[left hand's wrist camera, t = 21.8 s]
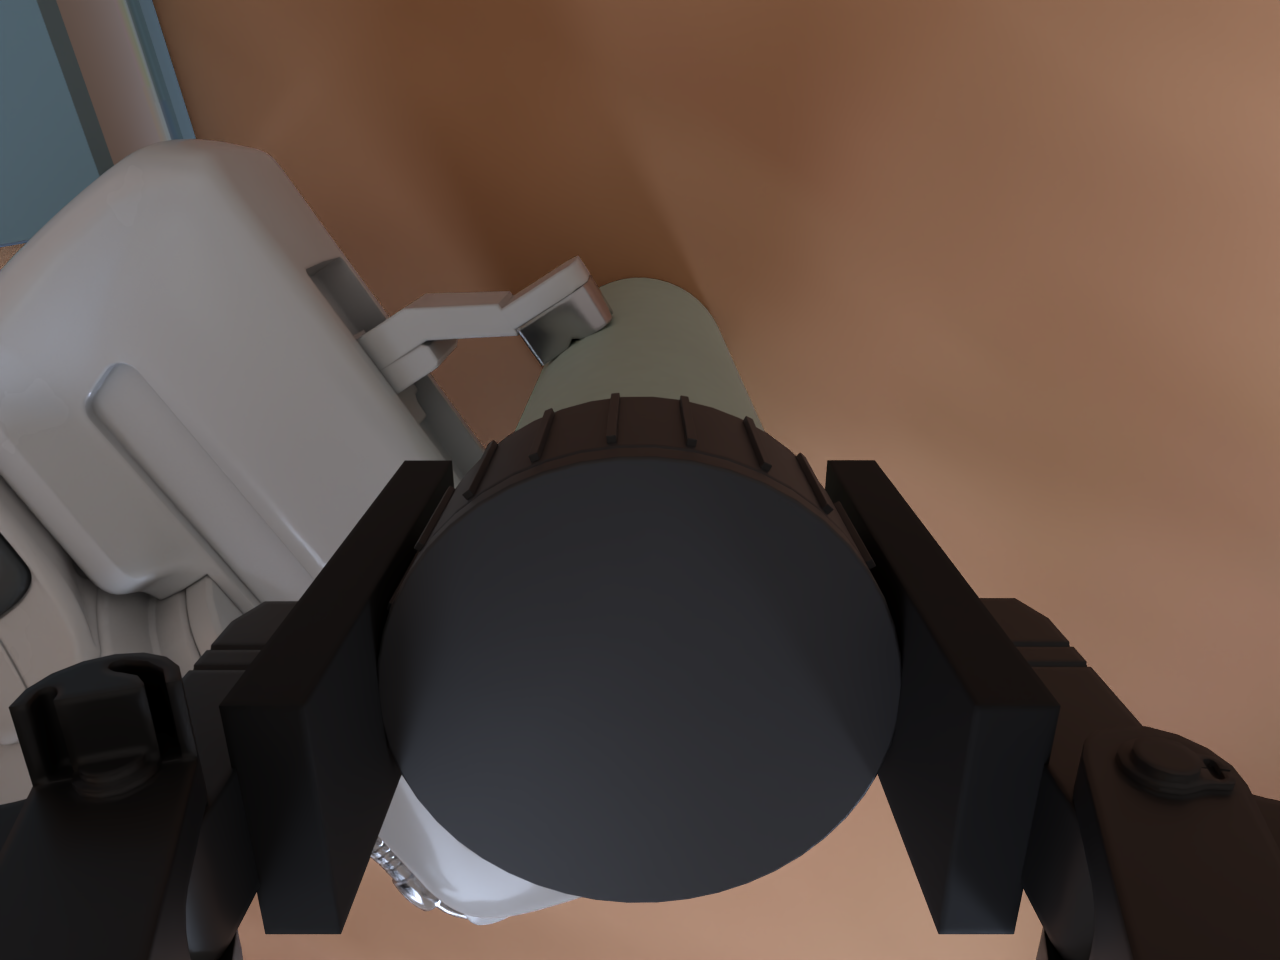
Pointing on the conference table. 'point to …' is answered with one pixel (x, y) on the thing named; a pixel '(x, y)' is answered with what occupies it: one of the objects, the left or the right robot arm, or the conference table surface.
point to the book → (77, 100)
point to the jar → (645, 356)
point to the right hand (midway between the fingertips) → (672, 407)
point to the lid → (639, 655)
